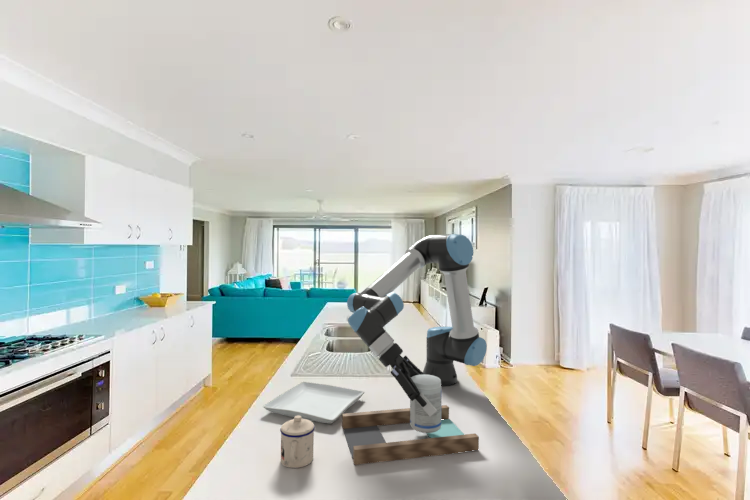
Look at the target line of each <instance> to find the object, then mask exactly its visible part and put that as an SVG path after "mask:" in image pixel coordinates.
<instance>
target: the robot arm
mask: <svg viewBox="0 0 750 500" xmlns="http://www.w3.org/2000/svg"><path fill="white" fill-rule="evenodd" d="M473 247H474V246H473V244H472V242H471V240H470V239H469V238H468V237H467V236H466V235H464V234H459V233H458V234H457V233H446V234H445V233H444V234H441V233H440V234H430V235H427V236H424V237H422V238H420V239H419V240H418V241H416V242H415V243H413V244H412V245H411V246H409V248H407V249H406V250H405V253H404V255H403V256H401V257H400V258H399V259H398V261H396V262H395V263H393V264H392V265H391V266H390V267H388V269H386V270H385V272H383V273H382V274H381V275H380V276H379V277H378V278H376V279H375V280H374V281H373V282H372V283H370V285H368V286H367V287H366V288H365V289H364V290H362V291H361V292H354V293H352V294H350V295H349V296H348V298H347V301H346V304H347V305H346V306H347V309H348V311H349V312H351V313H352V314H351V315H350V316H349V317H348V319H347V323H348V325H349V326H350V328H351V329H352V331H354V332H353V333H355V334H356V335H357V336H358V337H359V338H360V339H361V340H362V342H363V343H364V344H365V345H366V347H368V349H369V350H370V353H373V354H374V355H375V356H376V357H378V360H379V362H380V363H381V364H382V365H383V366H384V367H386V368H387V367H389V366H390V367H391V368H392V370H391V371H390V375H392V376H393V378H395V380H396V382H397V383H398V384H399V386H400V387H401V388H402V390H403V392H404V393H405V394H406V395H407V397H408V398H409V401H410V400H411V401H413V400H414V399H415V400H416V401H417V402H418V404H419V405H420V406H421V407H422V408H423V409H424V411H425V412H426V413H427V414H428V415H429V416H432V415H433V414H434V413H435V412H436V411H437V410H436V408H435V407H434V406H433V405H432V404H431V403H430V402H429V400H428V399H427V398H426V397H425V396H424V395H423V394H422V393H420V392H419V390H418V389H417V387H416V385H415V384H414V382H413V380H412V379H411V377H413V376H415V375H423V374H425V375H433V376H436V377H438V378H440V379H441V385H448V386H451V385H450V384H453V385H455V384H456V382H457V383H458V375H457V371H456V368H455V364H454V362H457V363H460V364H463V365H466V366H471V367H476V366H479V365H480V364H481V363H482V362H483V360H484V359H485V356H486V353H487V346H488V345H487V341H486V339H485V338H484V337H481V336H480V333H479V329H478V328H477V327H476V326H475V325H474V318H473V312H472V311H473V310H472V305H471V297H470V292H469V285H468V278H467V277H468V276H467V270H468V269H469V268H470V263H471V262H472V260H473V256H474V248H473ZM429 264H438V269H439V272H440V273H442V274H443V275H444V276H443V277H444V283H445V290H446V296H447V302H448V309H449V310H448V311H449V315H450V320H451V321H450V322H451V326H434V327H430V328H428V330H427V331H426V359H425V360H426V361H425V364H424V368H423V371H422V370H420V368H419V367H418V366H416V365H415V364H414V363H413V362H412V360H410V359H409V357H408V356H407V355H404V356H402V353H403V352H404V351H403V348H402V347H400V345H399V344H398V343H396V342H395V339H393V337H392V336H391V335H390V333H388V332H387V331H386V329H385V328H384V327H385V326H386V325H387V324H389V323H390V322H391V321H392V320H393V319H395V318H396V317H397V316H398V315H399V314H400V313H401V312H402V311H403V309H404V308H405V304H404V301H403V299H402V298H401V296H400V295H398V293H396V292H394V291H395V290H396V289H397V288H398V287H399V286H401V285H402V284H403V283H404V282H405V281H406V280H407V279H408V278H409V277H410V276H411V275H413V274H414V273H415V272H416V271H417V270H419V269H420V270H421V269H423V267H425V266H426V265H429ZM454 383H455V384H454Z"/></svg>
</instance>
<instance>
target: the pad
mask: <svg viewBox="0 0 750 500" xmlns="http://www.w3.org/2000/svg"><path fill="white" fill-rule="evenodd" d="M426 434H427V436H428V438H436V437H446V436H456V435H465V433H464V432H463V431H462V430H461V429H460V428H459V427H458V426H457V425H456V423H454V422H453V421H452V420H451V418H449V419H444V420H441V428H440V429H439V430H438V431H436V432H433V433H426Z"/></svg>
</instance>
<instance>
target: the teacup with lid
mask: <svg viewBox="0 0 750 500" xmlns="http://www.w3.org/2000/svg"><path fill="white" fill-rule="evenodd" d="M279 431H280V432H279V433H280V463H281V464H282V465H283V466H285V467H286V468H291V469H299V468H303V467H306V466H307V465H309V464H311V463H312V461H313V460H314V444H315V443H314V439H315V438H314V435H315V433H314V432H315V424H314V422H313V421H311V420H307V419H302V417H301V416H299V415H297V416H295V417H293V419H289V420H287V421H285V422H284V423H283V424H282V425H281V427H280V429H279Z"/></svg>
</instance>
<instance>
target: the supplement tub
mask: <svg viewBox="0 0 750 500" xmlns="http://www.w3.org/2000/svg"><path fill="white" fill-rule="evenodd" d="M411 379H412V380H413V382H414V384H415V385H416V387H417V389H418V390H419V392H420V393H422V394H423V395H424V396H425V397H426V398H427V399H428V400H429V402H430V403H431V404H432V405H433V406H434V407H435V408H436V410H437V411H436V412H435V413H434V414H433V415H432V416H429V415H428V414H427V413H426V412H425V411H424V409H423V408H422V407H421V406H420V405H419V404H418V402H417V401H416V400H415V399H414V400H413V401H411V400H410V399H409V408H410V423H409V424H410V426H411V427H410V428H412V429H413V430H414V431H417V432H419V433H423V434H427V433H433V432H436V431H438V430H439V429H440V428H441V405H442V386H441V379H440V378H438V377H436V376H433V375H425V374H423V375H415V376H413V377H411Z"/></svg>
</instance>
